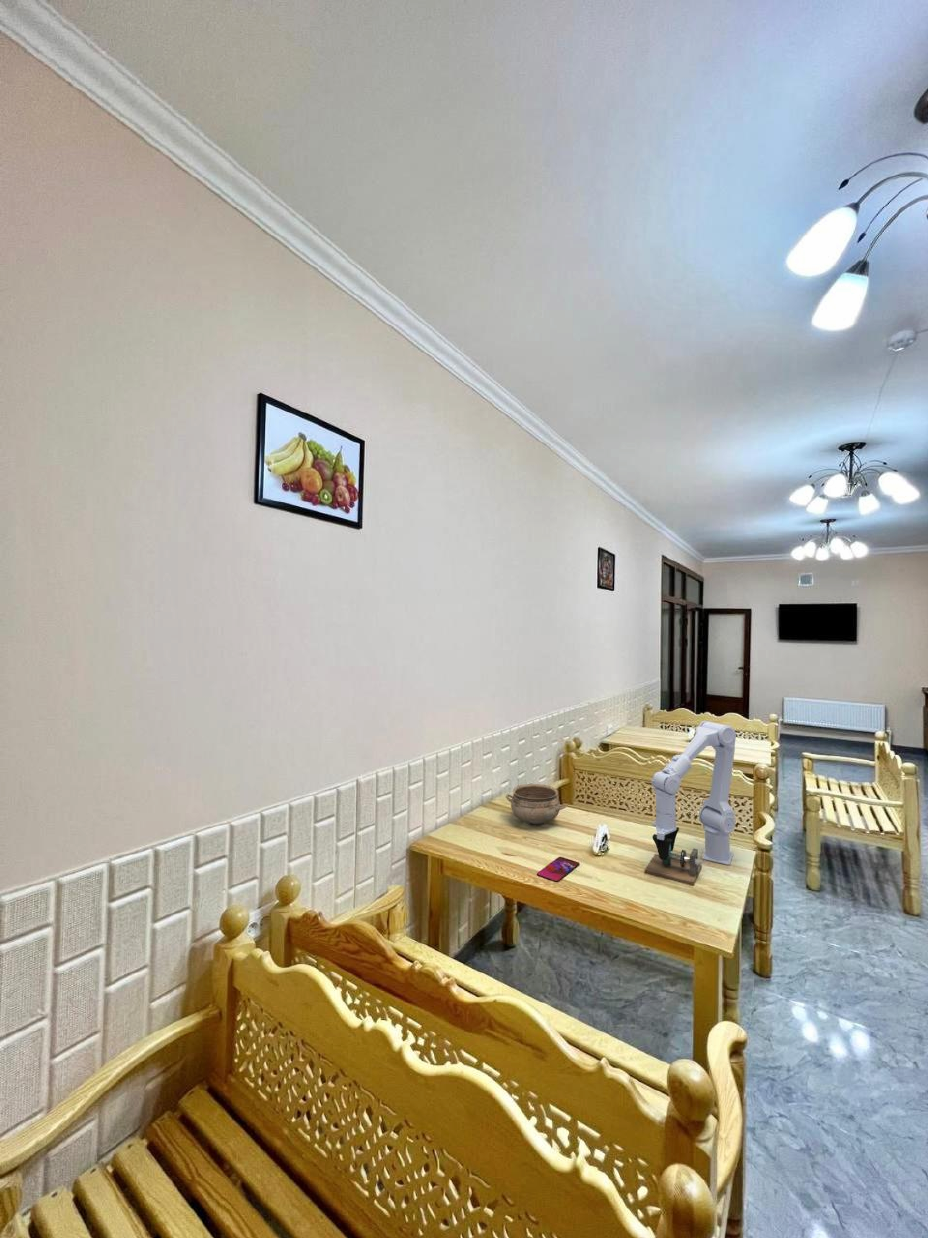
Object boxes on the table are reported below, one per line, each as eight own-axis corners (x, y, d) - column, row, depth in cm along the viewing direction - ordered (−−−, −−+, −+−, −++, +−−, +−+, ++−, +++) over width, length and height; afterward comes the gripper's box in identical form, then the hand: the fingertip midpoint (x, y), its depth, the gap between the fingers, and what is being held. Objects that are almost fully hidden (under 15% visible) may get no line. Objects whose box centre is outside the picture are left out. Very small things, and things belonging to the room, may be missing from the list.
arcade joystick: (664, 860, 161) (663, 836, 162) (702, 869, 155) (702, 845, 155) (660, 866, 157) (659, 842, 157) (699, 876, 151) (699, 851, 151)
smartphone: (535, 873, 156) (559, 855, 167) (535, 876, 156) (559, 858, 167) (557, 881, 151) (580, 862, 162) (557, 884, 151) (580, 865, 162)
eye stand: (655, 857, 167) (655, 835, 167) (701, 868, 159) (701, 845, 159) (644, 873, 156) (644, 849, 156) (693, 886, 148) (693, 861, 148)
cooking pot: (574, 820, 198) (574, 789, 199) (557, 838, 182) (557, 804, 182) (516, 809, 211) (516, 779, 211) (495, 824, 195) (495, 793, 195)
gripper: (658, 802, 167) (658, 843, 167) (646, 816, 155) (646, 860, 155) (681, 806, 163) (681, 848, 163) (670, 820, 151) (671, 866, 151)
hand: (666, 854), depth 159 cm, fingers open, 7 cm apart
